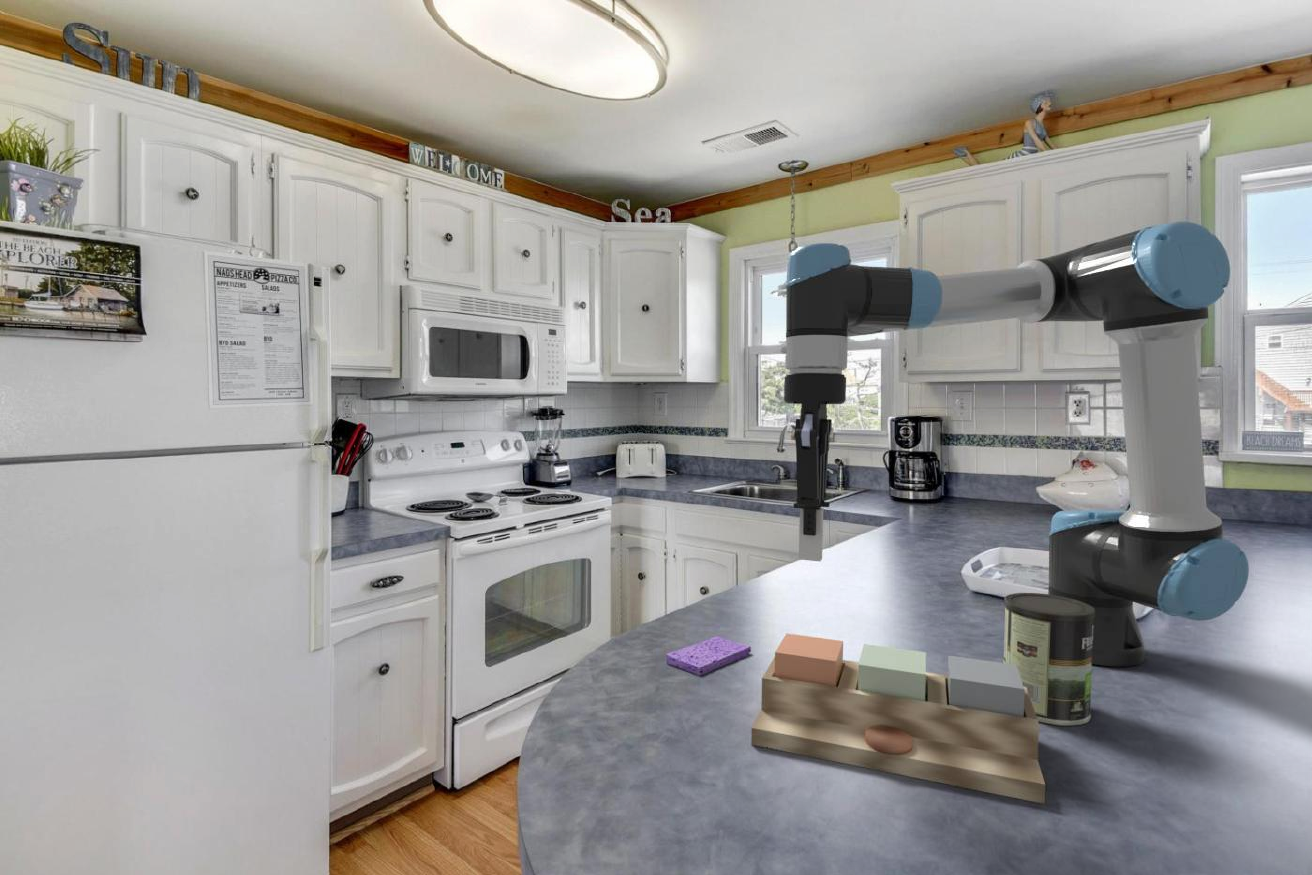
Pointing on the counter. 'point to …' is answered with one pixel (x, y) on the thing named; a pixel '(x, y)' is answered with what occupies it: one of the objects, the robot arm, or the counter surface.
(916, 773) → the key panel
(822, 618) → the counter surface
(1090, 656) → the coffee can
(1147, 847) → the counter surface
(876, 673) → the sage key
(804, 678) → the terracotta key
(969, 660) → the grey key
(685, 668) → the sponges
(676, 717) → the counter surface
